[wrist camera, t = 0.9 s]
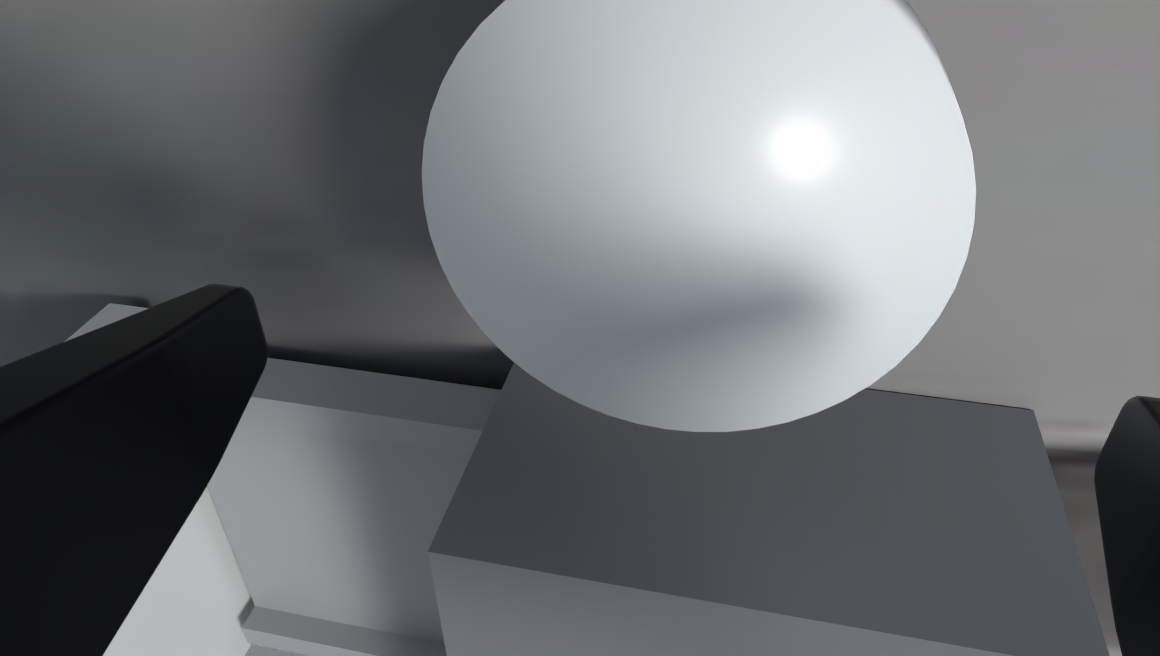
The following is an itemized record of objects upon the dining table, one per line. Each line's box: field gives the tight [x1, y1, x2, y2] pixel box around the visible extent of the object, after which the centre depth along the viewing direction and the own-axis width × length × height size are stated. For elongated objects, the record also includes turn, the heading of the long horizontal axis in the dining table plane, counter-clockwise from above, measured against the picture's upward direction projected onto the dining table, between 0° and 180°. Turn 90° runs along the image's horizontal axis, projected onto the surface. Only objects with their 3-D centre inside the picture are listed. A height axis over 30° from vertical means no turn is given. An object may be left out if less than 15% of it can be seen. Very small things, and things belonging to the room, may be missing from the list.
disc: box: [422, 0, 976, 432], centre depth 12 cm, size 7×7×2 cm
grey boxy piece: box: [64, 303, 501, 656], centre depth 21 cm, size 12×11×6 cm
